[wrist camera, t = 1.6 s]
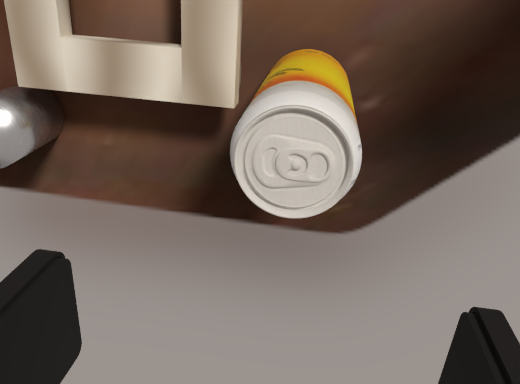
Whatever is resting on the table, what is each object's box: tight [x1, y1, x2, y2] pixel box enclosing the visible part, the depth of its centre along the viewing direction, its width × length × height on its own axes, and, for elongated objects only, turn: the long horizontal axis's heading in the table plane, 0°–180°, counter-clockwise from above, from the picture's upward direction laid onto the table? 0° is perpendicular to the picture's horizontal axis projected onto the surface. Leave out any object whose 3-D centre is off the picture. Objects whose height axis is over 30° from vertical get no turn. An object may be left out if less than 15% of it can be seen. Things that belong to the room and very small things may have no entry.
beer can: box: [230, 49, 362, 218], centre depth 26 cm, size 6×6×15 cm
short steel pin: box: [0, 85, 64, 168], centre depth 34 cm, size 5×5×6 cm
